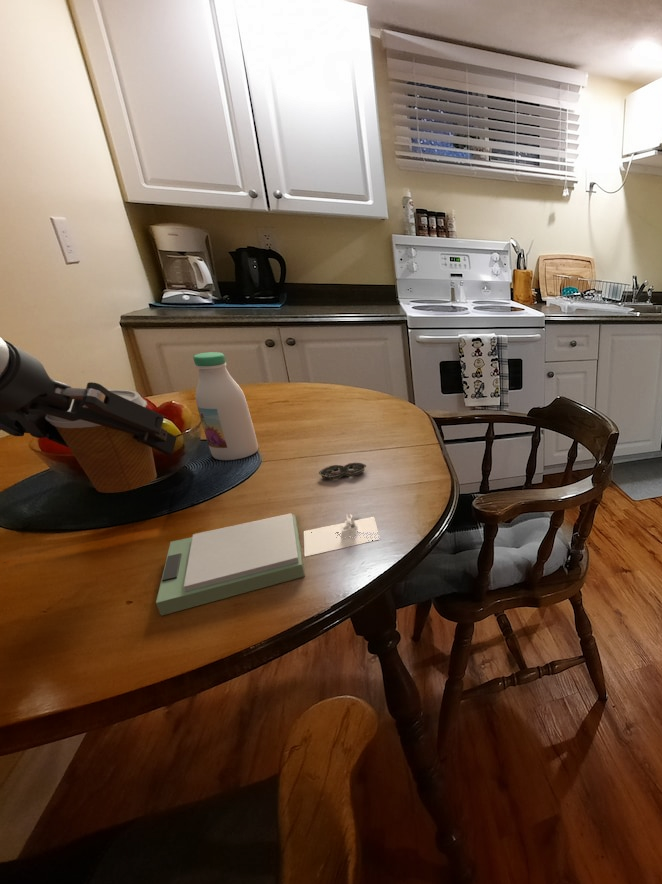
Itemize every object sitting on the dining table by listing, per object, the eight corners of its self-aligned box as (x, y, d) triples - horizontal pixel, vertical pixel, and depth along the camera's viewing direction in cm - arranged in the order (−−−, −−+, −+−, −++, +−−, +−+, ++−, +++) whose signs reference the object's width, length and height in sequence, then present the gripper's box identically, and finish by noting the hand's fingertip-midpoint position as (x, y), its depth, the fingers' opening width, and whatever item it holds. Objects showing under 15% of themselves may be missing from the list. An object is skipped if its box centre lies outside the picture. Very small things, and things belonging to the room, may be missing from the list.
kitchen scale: (174, 553, 69) (168, 536, 68) (297, 525, 77) (293, 510, 75) (161, 616, 58) (153, 597, 57) (304, 576, 66) (300, 559, 65)
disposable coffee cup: (100, 470, 70) (67, 390, 65) (182, 463, 73) (156, 386, 68) (62, 503, 62) (20, 415, 57) (155, 494, 65) (123, 409, 60)
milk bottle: (256, 442, 103) (231, 347, 95) (262, 455, 98) (236, 356, 89) (210, 450, 98) (180, 352, 90) (214, 465, 93) (182, 361, 85)
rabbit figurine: (359, 537, 75) (356, 519, 73) (341, 541, 74) (337, 523, 72) (357, 527, 77) (354, 509, 76) (339, 531, 76) (336, 513, 75)
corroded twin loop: (367, 476, 92) (366, 471, 91) (319, 483, 89) (318, 478, 88) (366, 465, 96) (365, 460, 95) (319, 471, 93) (318, 466, 92)
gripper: (-188, 400, 45) (35, 473, 66) (84, 400, 49) (214, 469, 70) (-152, 330, 47) (52, 422, 68) (104, 335, 51) (223, 421, 72)
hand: (133, 446), depth 69 cm, fingers closed on disposable coffee cup, 9 cm apart
